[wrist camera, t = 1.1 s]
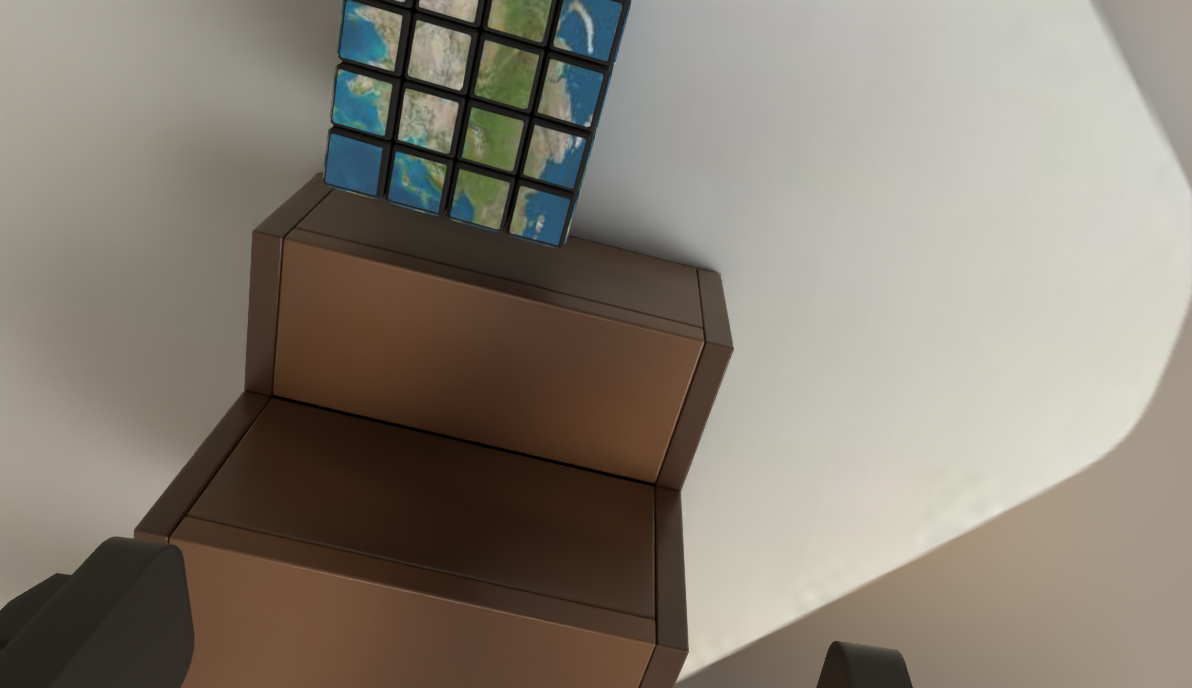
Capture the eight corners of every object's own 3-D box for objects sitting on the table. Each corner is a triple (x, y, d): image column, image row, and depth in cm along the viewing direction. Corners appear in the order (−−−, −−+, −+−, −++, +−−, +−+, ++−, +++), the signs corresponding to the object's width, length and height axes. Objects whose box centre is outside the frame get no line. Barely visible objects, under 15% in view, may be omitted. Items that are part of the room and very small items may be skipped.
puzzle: (387, 123, 26) (319, 186, 20) (419, -94, 23) (350, -86, 17) (580, 177, 26) (563, 253, 21) (636, -29, 23) (632, -2, 18)
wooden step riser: (287, 512, 33) (138, 773, 23) (317, 172, 26) (126, 340, 17) (612, 585, 34) (597, 865, 24) (721, 273, 27) (759, 488, 18)
